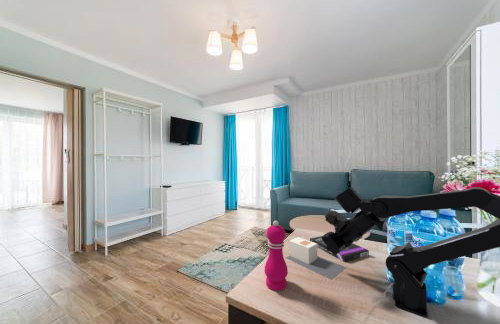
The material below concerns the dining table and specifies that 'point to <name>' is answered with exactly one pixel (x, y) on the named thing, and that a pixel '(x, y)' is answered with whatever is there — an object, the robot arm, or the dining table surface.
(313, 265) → the mat
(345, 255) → the box
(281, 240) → the pepper mill
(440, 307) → the dining table surface
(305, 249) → the block
